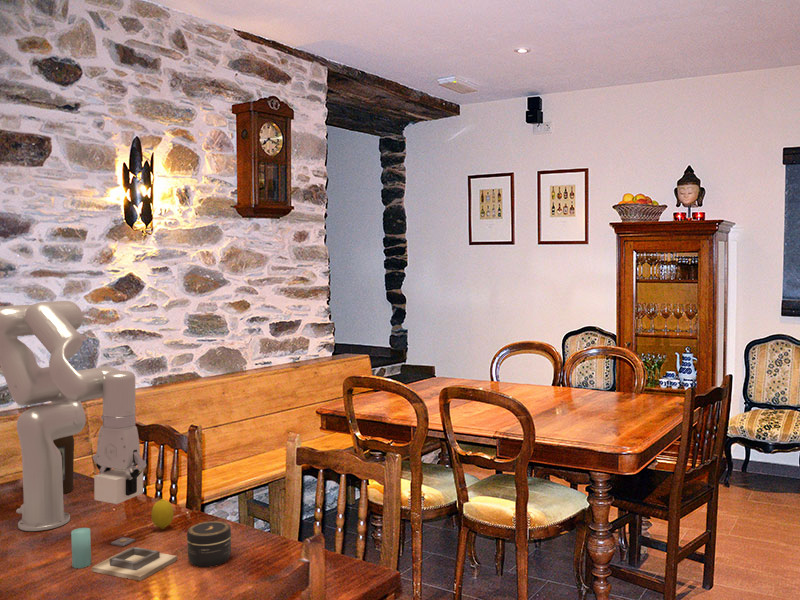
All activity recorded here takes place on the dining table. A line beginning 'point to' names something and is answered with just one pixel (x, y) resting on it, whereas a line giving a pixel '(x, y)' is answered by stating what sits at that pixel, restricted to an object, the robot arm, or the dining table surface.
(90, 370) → the robot arm
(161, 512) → the lemon
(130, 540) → the tile
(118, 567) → the board
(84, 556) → the peg
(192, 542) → the jar
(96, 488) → the block
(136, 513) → the dining table surface
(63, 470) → the olive oil
